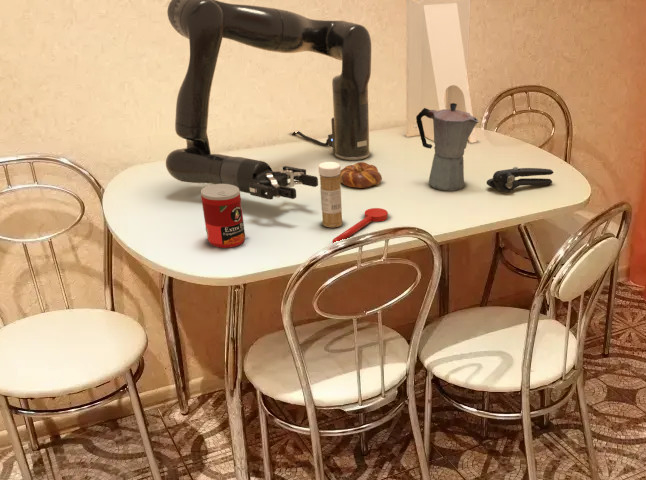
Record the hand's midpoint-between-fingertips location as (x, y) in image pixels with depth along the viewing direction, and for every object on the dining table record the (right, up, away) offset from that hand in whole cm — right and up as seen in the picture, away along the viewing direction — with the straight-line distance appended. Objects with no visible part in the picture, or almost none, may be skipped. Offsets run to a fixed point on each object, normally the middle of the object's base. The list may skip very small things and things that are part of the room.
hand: (306, 187), depth 169 cm
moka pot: (+31, +7, +24) cm, 39 cm away
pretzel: (+9, +8, +25) cm, 28 cm away
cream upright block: (+32, +29, +57) cm, 71 cm away
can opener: (+50, +6, +24) cm, 56 cm away
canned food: (-16, -13, -7) cm, 22 cm away
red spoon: (+12, -9, 0) cm, 15 cm away
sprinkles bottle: (+5, -8, +2) cm, 10 cm away
